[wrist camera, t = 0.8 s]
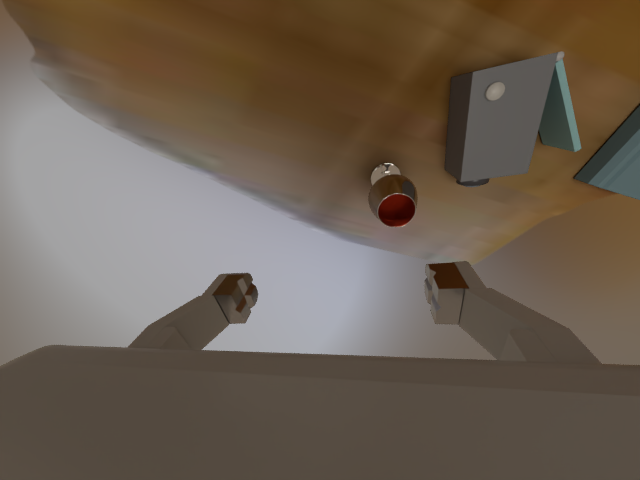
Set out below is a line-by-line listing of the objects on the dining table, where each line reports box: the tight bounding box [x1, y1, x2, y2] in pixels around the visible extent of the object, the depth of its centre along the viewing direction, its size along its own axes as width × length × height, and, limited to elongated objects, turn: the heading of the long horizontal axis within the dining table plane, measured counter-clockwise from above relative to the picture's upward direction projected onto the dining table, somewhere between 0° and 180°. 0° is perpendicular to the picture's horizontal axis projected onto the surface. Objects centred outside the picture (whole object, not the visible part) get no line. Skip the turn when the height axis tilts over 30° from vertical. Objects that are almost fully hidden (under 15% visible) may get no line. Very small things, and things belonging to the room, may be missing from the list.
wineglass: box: [368, 163, 418, 227], centre depth 43 cm, size 8×8×18 cm
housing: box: [445, 52, 558, 187], centre depth 39 cm, size 18×10×10 cm, turn 11°
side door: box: [539, 52, 581, 152], centre depth 36 cm, size 15×2×8 cm, turn 36°
